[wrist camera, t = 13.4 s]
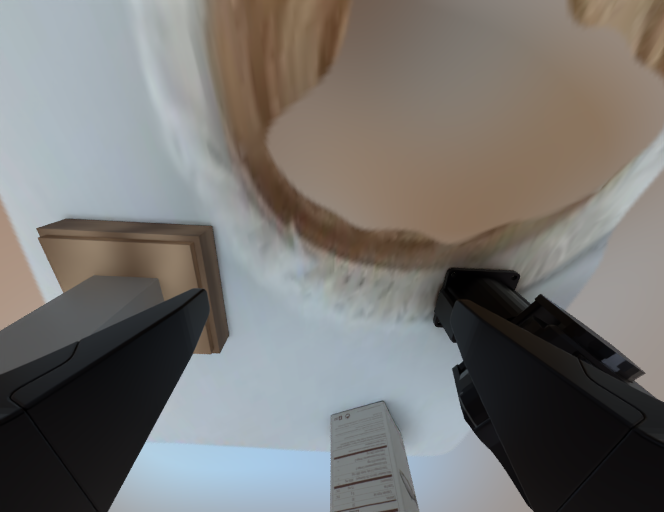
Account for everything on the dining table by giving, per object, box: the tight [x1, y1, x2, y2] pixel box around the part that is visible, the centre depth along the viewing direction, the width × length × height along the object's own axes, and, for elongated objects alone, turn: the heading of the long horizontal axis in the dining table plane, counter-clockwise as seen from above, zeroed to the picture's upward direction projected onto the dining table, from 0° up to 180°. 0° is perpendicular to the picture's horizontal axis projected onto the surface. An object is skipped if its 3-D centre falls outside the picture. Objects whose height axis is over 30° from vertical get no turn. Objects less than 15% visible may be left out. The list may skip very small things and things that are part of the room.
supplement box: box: [330, 402, 419, 512], centre depth 28 cm, size 7×7×13 cm
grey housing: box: [0, 275, 164, 374], centre depth 16 cm, size 5×5×12 cm
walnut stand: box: [36, 219, 229, 354], centre depth 23 cm, size 12×12×3 cm
